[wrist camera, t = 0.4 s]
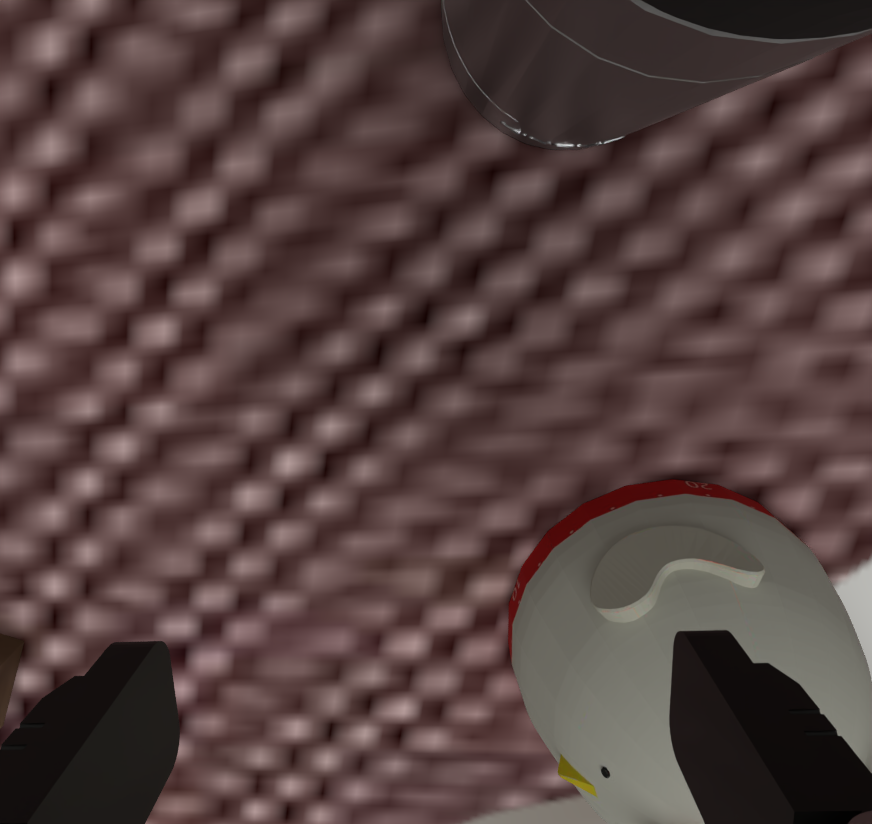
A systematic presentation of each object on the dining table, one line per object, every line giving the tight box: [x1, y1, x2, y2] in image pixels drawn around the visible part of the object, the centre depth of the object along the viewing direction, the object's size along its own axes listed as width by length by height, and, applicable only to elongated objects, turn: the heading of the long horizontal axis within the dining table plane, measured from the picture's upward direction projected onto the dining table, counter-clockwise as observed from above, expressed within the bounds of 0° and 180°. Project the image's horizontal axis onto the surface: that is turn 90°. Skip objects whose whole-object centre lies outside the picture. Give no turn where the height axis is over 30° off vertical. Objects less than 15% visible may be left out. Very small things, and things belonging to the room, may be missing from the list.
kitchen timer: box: [508, 479, 872, 824], centre depth 24 cm, size 14×14×15 cm
